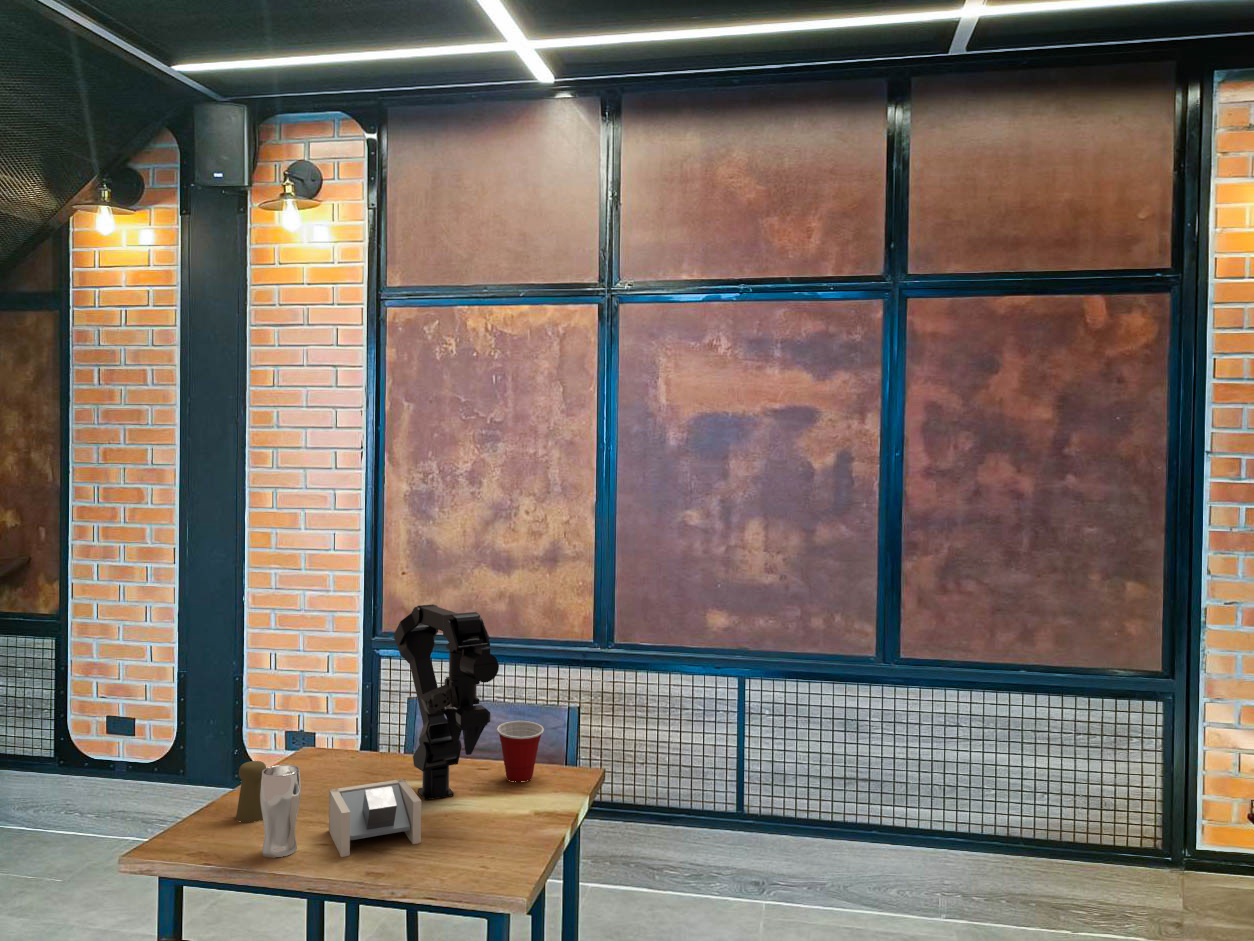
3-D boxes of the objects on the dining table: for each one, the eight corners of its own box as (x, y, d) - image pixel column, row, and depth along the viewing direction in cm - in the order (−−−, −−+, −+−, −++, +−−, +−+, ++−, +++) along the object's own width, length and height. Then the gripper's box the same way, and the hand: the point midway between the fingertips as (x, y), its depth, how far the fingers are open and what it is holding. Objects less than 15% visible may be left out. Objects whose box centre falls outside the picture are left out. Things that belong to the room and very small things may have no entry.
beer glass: (275, 862, 160) (276, 778, 160) (251, 853, 164) (252, 771, 164) (307, 849, 166) (309, 768, 166) (283, 840, 170) (285, 761, 170)
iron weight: (362, 810, 171) (365, 790, 169) (388, 806, 173) (391, 786, 171) (366, 829, 167) (369, 809, 165) (393, 825, 169) (396, 805, 167)
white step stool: (328, 830, 175) (329, 789, 175) (403, 818, 182) (404, 778, 182) (341, 857, 163) (341, 813, 163) (420, 842, 170) (421, 800, 170)
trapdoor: (340, 795, 174) (340, 791, 174) (397, 786, 179) (397, 782, 179) (350, 840, 165) (350, 836, 165) (409, 830, 170) (410, 826, 170)
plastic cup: (506, 790, 199) (507, 736, 199) (489, 775, 208) (489, 724, 208) (551, 782, 204) (552, 729, 204) (531, 768, 214) (532, 718, 214)
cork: (274, 814, 183) (275, 760, 183) (250, 824, 177) (251, 769, 178) (252, 809, 185) (253, 756, 186) (228, 819, 180) (229, 764, 180)
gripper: (413, 667, 191) (411, 741, 191) (437, 686, 174) (436, 766, 174) (463, 663, 196) (462, 734, 196) (491, 681, 180) (490, 759, 180)
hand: (461, 748), depth 186 cm, fingers open, 9 cm apart
